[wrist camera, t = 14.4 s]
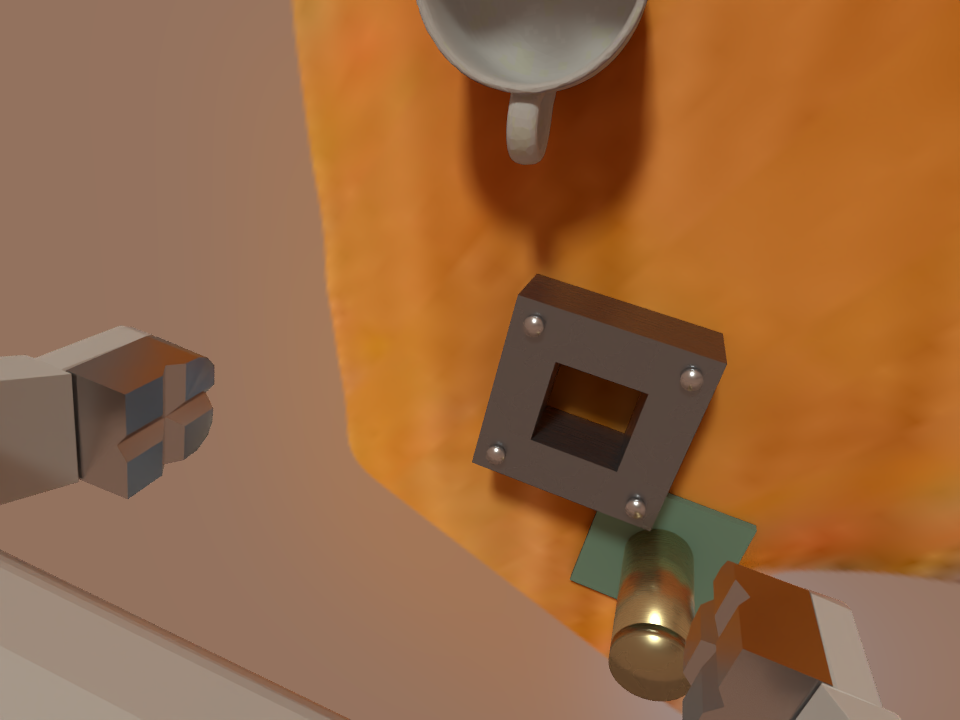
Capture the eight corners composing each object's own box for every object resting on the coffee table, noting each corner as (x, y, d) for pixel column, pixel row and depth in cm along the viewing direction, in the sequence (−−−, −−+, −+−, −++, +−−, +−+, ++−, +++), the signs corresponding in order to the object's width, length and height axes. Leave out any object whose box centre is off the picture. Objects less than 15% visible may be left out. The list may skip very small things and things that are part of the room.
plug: (704, 544, 43) (708, 658, 34) (679, 593, 45) (677, 713, 36) (636, 518, 44) (623, 623, 35) (615, 568, 46) (598, 679, 37)
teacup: (488, -148, 33) (432, -217, 26) (695, -113, 31) (696, -178, 23) (441, 128, 39) (385, 134, 32) (611, 173, 37) (592, 190, 29)
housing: (722, 333, 38) (727, 367, 33) (654, 487, 43) (649, 536, 38) (536, 273, 40) (515, 297, 35) (493, 427, 45) (469, 466, 40)
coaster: (755, 525, 42) (756, 530, 41) (699, 627, 46) (699, 633, 46) (612, 471, 44) (611, 476, 43) (571, 574, 48) (570, 579, 48)
